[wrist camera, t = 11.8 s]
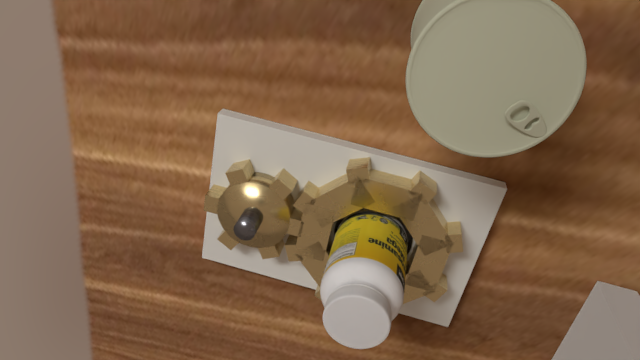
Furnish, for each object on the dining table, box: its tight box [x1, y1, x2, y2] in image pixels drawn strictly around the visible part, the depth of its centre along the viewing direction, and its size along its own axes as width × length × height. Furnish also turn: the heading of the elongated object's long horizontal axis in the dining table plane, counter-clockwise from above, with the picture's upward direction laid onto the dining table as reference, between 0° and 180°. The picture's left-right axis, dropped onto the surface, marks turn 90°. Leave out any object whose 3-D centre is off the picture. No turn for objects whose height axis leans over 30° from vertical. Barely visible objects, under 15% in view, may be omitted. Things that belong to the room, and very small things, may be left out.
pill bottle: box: [320, 209, 408, 349], centre depth 40 cm, size 6×6×11 cm
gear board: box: [202, 109, 507, 327], centre depth 46 cm, size 15×24×1 cm, turn 79°
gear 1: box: [204, 159, 304, 259], centre depth 44 cm, size 8×9×4 cm
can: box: [406, 0, 587, 158], centre depth 32 cm, size 9×9×12 cm
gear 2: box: [285, 157, 463, 304], centre depth 44 cm, size 14×14×2 cm
